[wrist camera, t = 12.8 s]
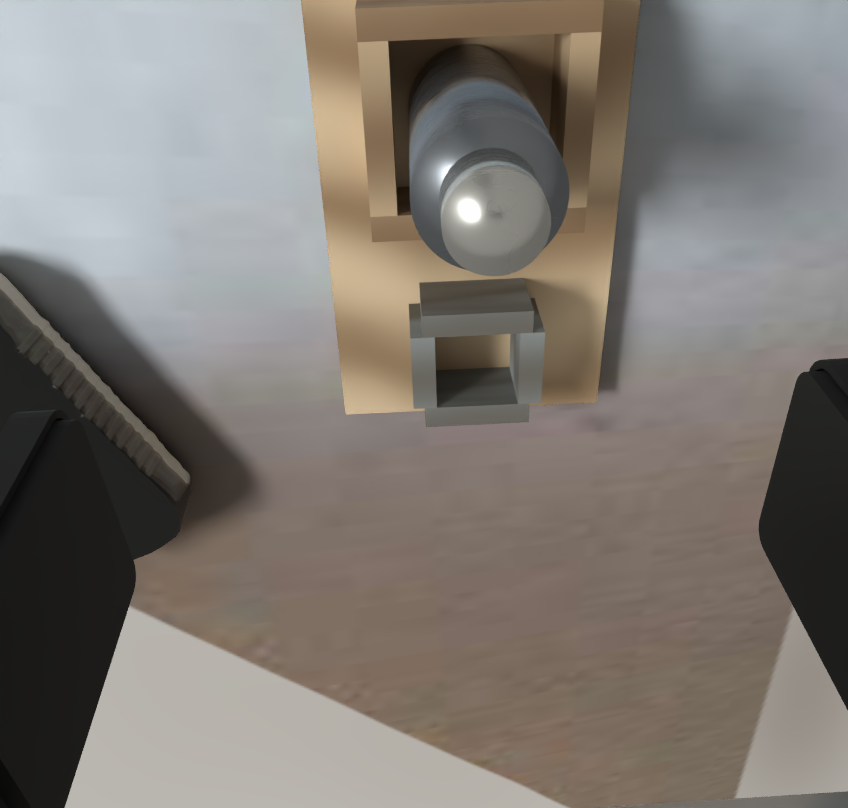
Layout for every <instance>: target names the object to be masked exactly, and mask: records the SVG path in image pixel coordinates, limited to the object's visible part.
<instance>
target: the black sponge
mask: <svg viewBox="0 0 848 808" xmlns="http://www.w3.org/2000/svg"><path fill="white" fill-rule="evenodd" d="M58 409H59V410H62V411H64V412H65V413H66V414H67V416H68V417H69V419H70V420H79V421H80V422H81V423H82V425H83V427H84V429H85V431H86V434H87V437H88V440H89V442H90V445H91V448H92V450H93V453H94V456H95V458H96V461H97V464H98V467H99V469H100V472H101V475H102V477H103V480H104V483H105V485H106V488H107V491H108V493H109V496H110V499H111V502H112V504H113V507H114V510H115V512H116V515H117V518H118V520H119V523H120V526H121V528H122V531H123V534H124V537H125V539H126V542H127V545H128V547H129V550H130V553H131V555H132V558H133V560H134V559H137V558H139V557H142V556H144V555H147V554H150V553H151V552H153V551H155V550H157V549H159V548H160V547H162V546H163V545H165V544H166V543H168V542H169V541H170V540H172V539H173V538H175V537H176V536H177V534H178V533H179V531H180V527H181V524H182V521H183V519H184V516H185V514H186V510H187V506H188V502H189V499H190V495H191V478H190V475H189V473H188V472H187V471H186V470H185V469H183V468H182V466H181V464H180V463H179V462H178V461H177V460H176V459H175V458H174V457H173V456H172V455H171V454H170V453H169V452H168V451H167V450H166V449H165V447H164V445H163V444H162V443H161V442H159V440H158V438H157V437H156V435H155V434H154V433H153V432H152V431H150V430H148V429H147V427H146V426H145V425H144V424H143V423H142V422H141V420H140V419H139V418H137V417H136V416H135V415H134V414H133V413H132V412H131V411H130V410H129V409H128V408H127V407H126V406H125V405H124V404H123V403H122V402H121V401H120V400H119V398H118V396H116V395H115V394H113V392H112V390H111V389H110V387H109V386H107V385H106V384H105V383H103V382H102V381H101V379H100V377H99V376H98V375H96V374H95V373H94V372H93V371H92V370H91V368H90V366H89V365H88V364H87V363H86V362H85V361H84V360H83V359H82V358H81V357H80V355H79V354H76V353H75V352H74V351H73V349H72V348H71V347H70V344H69V343H66V342H65V341H64V340H63V339H62V338H61V337H60V335H59V333H58V332H56V331H55V330H54V329H53V328H52V327H51V326H50V323H49V321H47V320H45V319H44V318H42V317H41V316H40V315H39V314H38V313H37V311H36V310H35V309H34V308H33V307H32V305H31V304H30V303H29V302H28V301H27V300H26V299H25V298H24V296H23V295H22V294H21V293H20V292H19V291H18V290H17V289H16V288H15V287H14V286H13V285H12V284H11V283H10V282H9V280H8V279H7V278H6V277H5V276H4V275H2V274H1V273H0V431H1V429H2V428H3V426H4V425H5V423H6V421H7V420H8V418H9V417H10V416H11V415H12V414H14V413H17V412H28V411H43V410H58Z"/></svg>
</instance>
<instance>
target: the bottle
mask: <svg viewBox="0 0 848 808" xmlns="http://www.w3.org/2000/svg"><path fill="white" fill-rule="evenodd" d="M409 170H410V207H411V213H412V218H413V221H414V224H415V227H416V229H417V231H418V233H419V235H420V237H421V238H422V240H423V241H424V242H425V244H426V245H427V246H428V247H429V248H430V249H431V250H432V251H433V252H434V253H435V254H436V255H437V256H438V257H440V258H441V259H443V260H444V261H446V262H448V263H449V264H451V265H454V266H456V267H458V268H462V269H465V270H468V271H471V272H473V273H476V274H479V275H484V276H503V275H508V274H511V273H514V272H517V271H519V270H521V269H523V268H524V267H526V266H527V265H529V264H530V263H531V262H532V261H534V260H535V259H536V258H537V257H538V255H539V254H540V253H541V251H542V250H543V249H544V248H545V247H546V246H547V245H548V244H549V243H550V242H551V240H552V239H553V238H554V237H555V235H556V234H557V232H558V230H559V229H560V227H561V225H562V223H563V220H564V218H565V215H566V212H567V208H568V203H569V189H570V187H569V178H568V174H567V170H566V166H565V164H564V161H563V159H562V157H561V155H560V153H559V151H558V149H557V147H556V145H555V143H554V142H553V140H552V138H551V136H550V134H549V132H548V130H547V128H546V126H545V124H544V122H543V120H542V118H541V117H540V115H539V113H538V111H537V109H536V107H535V105H534V103H533V101H532V99H531V97H530V95H529V94H528V92H527V90H526V88H525V86H524V84H523V82H522V80H521V78H520V76H519V74H518V73H517V71H516V69H515V68H514V67H513V65H512V64H511V63H510V62H509V61H508V60H507V59H506V58H505V57H504V56H503V55H501V54H500V53H498V52H497V51H495V50H493V49H491V48H488V47H485V46H482V45H477V44H462V45H456V46H452V47H449V48H447V49H444V50H443V51H441V52H439V53H437V54H436V55H435V56H433V57H432V58H431V59H430V60H429V61H427V62H426V63H425V65H424V66H423V67H422V68H421V70H420V71H419V73H418V74H417V76H416V78H415V80H414V82H413V85H412V88H411V92H410V97H409Z"/></svg>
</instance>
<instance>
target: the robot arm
mask: <svg viewBox="0 0 848 808" xmlns="http://www.w3.org/2000/svg"><path fill="white" fill-rule="evenodd" d="M759 536H760V541H761V544H762V547H763V549H764V551H765V553H766V555H767V557H768V559H769V561H770V563H771V565H772V566H773V568H774V570H775V572H776V574H777V576H778V578H779V580H780V582H781V584H782V586H783V587H784V589H785V591H786V593H787V595H788V597H789V599H790V601H791V603H792V605H793V607H794V608H795V610H796V612H797V614H798V616H799V618H800V620H801V622H802V624H803V625H804V628H805V629H806V631H807V633H808V635H809V637H810V639H811V641H812V643H813V645H814V647H815V648H816V650H817V652H818V654H819V656H820V658H821V660H822V662H823V664H824V666H825V668H826V669H827V672H828V673H829V675H830V677H831V679H832V681H833V683H834V685H835V687H836V689H837V691H838V692H839V694H840V696H841V698H842V700H843V702H844V704H845V706H846V708H847V710H848V358H843V359H827V360H819V361H816V362H815V363H814V364H813V365H812V366H811V368H810V371H809V372H803V373H801V374H800V375H799V377H798V379H797V381H796V384H795V388H794V392H793V395H792V399H791V403H790V407H789V411H788V414H787V418H786V422H785V426H784V429H783V433H782V437H781V441H780V445H779V448H778V452H777V456H776V460H775V463H774V467H773V471H772V475H771V479H770V482H769V486H768V490H767V494H766V497H765V501H764V505H763V509H762V513H761V516H760V521H759ZM135 581H136V571H135V565H134V561H133V558H132V555H131V553H130V550H129V547H128V545H127V542H126V539H125V537H124V534H123V531H122V528H121V526H120V523H119V520H118V518H117V515H116V512H115V510H114V507H113V504H112V502H111V499H110V496H109V493H108V491H107V488H106V485H105V483H104V480H103V477H102V475H101V472H100V469H99V467H98V464H97V461H96V458H95V456H94V453H93V450H92V448H91V445H90V442H89V440H88V437H87V434H86V431H85V429H84V427H83V425H82V423H81V422H80V421H79V420H70V419H69V417H68V416H67V414H66V413H65V412H64V411H62V410H59V409H58V410H43V411H28V412H17V413H14V414H12V415H11V416H10V417H9V418H8V420H7V421H6V423H5V425H4V426H3V428H2V429H1V431H0V808H64V807H65V804H66V801H67V798H68V795H69V792H70V788H71V785H72V782H73V779H74V776H75V773H76V770H77V767H78V763H79V760H80V757H81V754H82V751H83V748H84V745H85V742H86V738H87V736H88V732H89V729H90V726H91V723H92V720H93V717H94V713H95V711H96V707H97V704H98V701H99V698H100V695H101V692H102V689H103V685H104V682H105V679H106V676H107V673H108V669H109V667H110V664H111V661H112V657H113V654H114V651H115V648H116V645H117V642H118V638H119V636H120V632H121V629H122V626H123V623H124V620H125V617H126V614H127V611H128V608H129V604H130V601H131V598H132V595H133V592H134V588H135ZM597 808H848V792H834V793H818V794H802V795H788V796H771V797H754V798H738V799H722V800H706V801H691V802H675V803H659V804H643V805H627V806H612V807H597Z"/></svg>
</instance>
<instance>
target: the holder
mask: <svg viewBox="0 0 848 808" xmlns="http://www.w3.org/2000/svg"><path fill="white" fill-rule="evenodd" d="M640 1H641V0H301V5H302V14H303V23H304V32H305V42H306V51H307V60H308V69H309V79H310V88H311V97H312V107H313V116H314V125H315V134H316V144H317V153H318V162H319V171H320V181H321V190H322V199H323V209H324V218H325V227H326V236H327V246H328V255H329V264H330V273H331V283H332V292H333V301H334V311H335V320H336V329H337V338H338V348H339V357H340V366H341V375H342V385H343V394H344V403H345V413H346V414H364V413H385V412H406V411H425V420H426V427H437V426H457V425H478V424H499V423H520V422H529V406H532V405H553V404H574V403H595V402H597V395H598V386H599V377H600V368H601V359H602V350H603V340H604V331H605V322H606V313H607V304H608V294H609V285H610V276H611V267H612V258H613V249H614V239H615V230H616V221H617V212H618V203H619V193H620V184H621V175H622V166H623V157H624V148H625V138H626V129H627V120H628V111H629V102H630V92H631V83H632V74H633V65H634V56H635V47H636V37H637V28H638V19H639V10H640ZM462 44H477V45H482V46H485V47H488V48H491V49H493V50H495V51H497V52H498V53H500V54H501V55H503V56H504V57H505V58H506V59H507V60H508V61H509V62H510V63H511V64H512V65H513V67H514V68H515V69H516V71H517V73H518V74H519V76H520V78H521V80H522V82H523V84H524V86H525V88H526V90H527V92H528V94H529V95H530V97H531V99H532V101H533V103H534V105H535V107H536V109H537V111H538V113H539V115H540V117H541V118H542V120H543V122H544V124H545V126H546V128H547V130H548V132H549V134H550V136H551V138H552V140H553V142H554V143H555V145H556V147H557V149H558V151H559V153H560V155H561V157H562V159H563V161H564V164H565V166H566V170H567V174H568V178H569V187H570V189H569V203H568V208H567V212H566V215H565V218H564V220H563V223H562V225H561V227H560V229H559V230H558V232H557V234H556V235H555V237H554V238H553V239H552V240H551V242H550V243H549V244H548V245H547V246H546V247H545V248H544V249H543V250H542V251H541V253H540V254H539V255H538V257H537V258H536V259H535V260H534V261H532V262H531V263H530V264H529V265H527V266H526V267H524V268H523V269H521V270H519V271H517V272H514V273H511V274H508V275H503V276H484V275H479V274H476V273H473V272H471V271H468V270H465V269H462V268H458V267H456V266H454V265H451V264H449V263H448V262H446V261H444V260H443V259H441V258H440V257H438V256H437V255H436V254H435V253H434V252H433V251H432V250H431V249H430V248H429V247H428V246H427V245H426V244H425V242H424V241H423V240H422V238H421V237H420V235H419V233H418V231H417V229H416V227H415V224H414V221H413V218H412V213H411V207H410V170H409V97H410V92H411V88H412V85H413V82H414V80H415V78H416V76H417V74H418V73H419V71H420V70H421V68H422V67H423V66H424V65H425V63H426V62H427V61H429V60H430V59H431V58H432V57H433V56H435V55H436V54H437V53H439V52H441V51H443V50H444V49H447V48H449V47H452V46H456V45H462Z"/></svg>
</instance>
